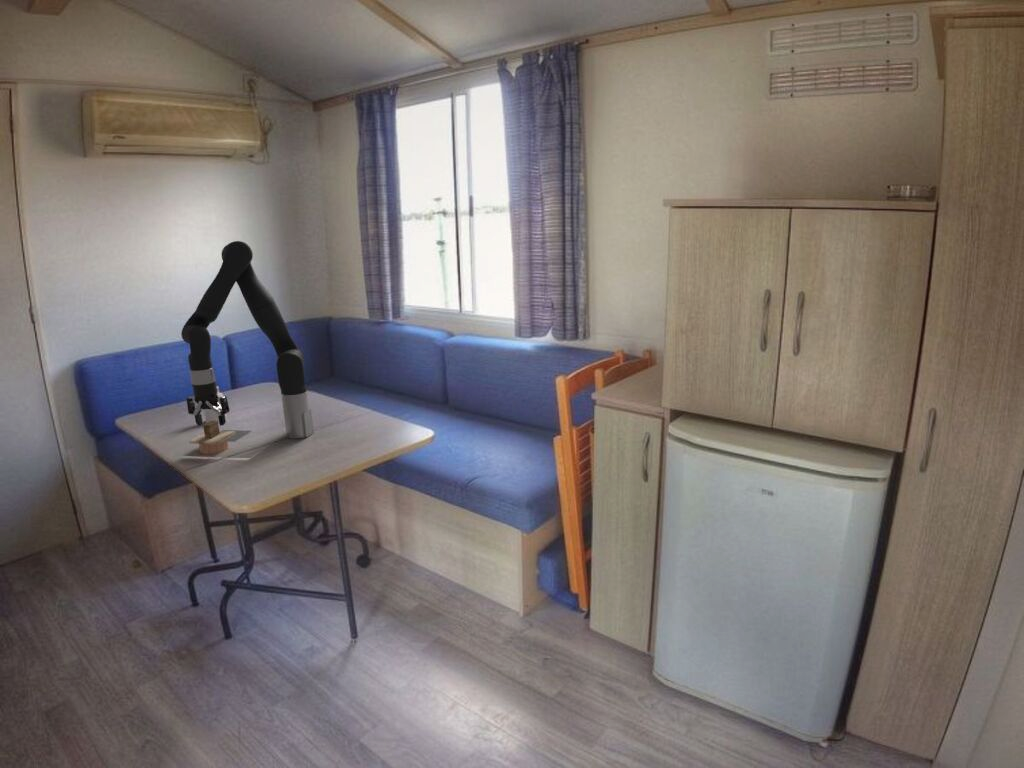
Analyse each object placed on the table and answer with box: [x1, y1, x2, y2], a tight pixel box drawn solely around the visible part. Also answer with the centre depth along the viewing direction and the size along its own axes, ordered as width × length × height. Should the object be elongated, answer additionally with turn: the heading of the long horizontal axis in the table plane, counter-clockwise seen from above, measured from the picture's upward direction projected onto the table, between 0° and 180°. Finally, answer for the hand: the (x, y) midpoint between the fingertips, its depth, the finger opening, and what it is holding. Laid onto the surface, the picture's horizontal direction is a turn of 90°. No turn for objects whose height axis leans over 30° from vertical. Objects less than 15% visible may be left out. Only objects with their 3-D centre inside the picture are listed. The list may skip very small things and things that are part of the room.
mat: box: [222, 429, 252, 443], centre depth 235 cm, size 12×12×1 cm
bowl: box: [198, 439, 229, 455], centre depth 221 cm, size 9×9×5 cm
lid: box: [188, 421, 236, 445], centre depth 220 cm, size 11×11×6 cm
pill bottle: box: [203, 385, 228, 424], centre depth 252 cm, size 8×8×15 cm
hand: (211, 424), depth 219 cm, fingers open, 8 cm apart
